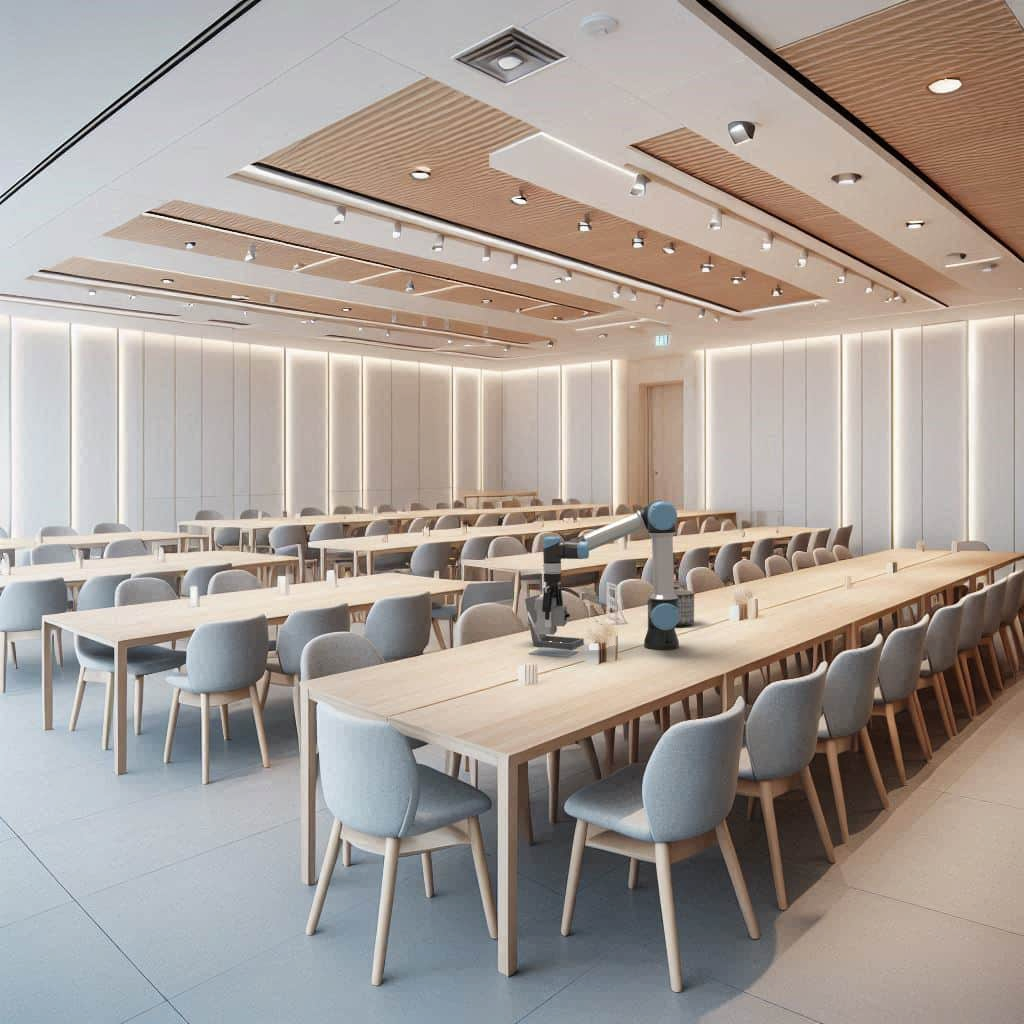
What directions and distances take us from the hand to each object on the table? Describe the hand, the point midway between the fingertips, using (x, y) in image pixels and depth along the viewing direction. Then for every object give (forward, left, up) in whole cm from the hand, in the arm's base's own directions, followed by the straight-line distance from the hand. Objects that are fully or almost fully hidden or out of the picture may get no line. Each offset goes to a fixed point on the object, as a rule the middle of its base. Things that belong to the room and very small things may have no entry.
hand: (552, 625), depth 366 cm
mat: (0, 0, -12) cm, 12 cm away
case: (+7, -16, -12) cm, 21 cm away
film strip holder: (+4, -78, -12) cm, 79 cm away
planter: (-28, -84, -12) cm, 90 cm away
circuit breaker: (0, 0, -4) cm, 4 cm away
